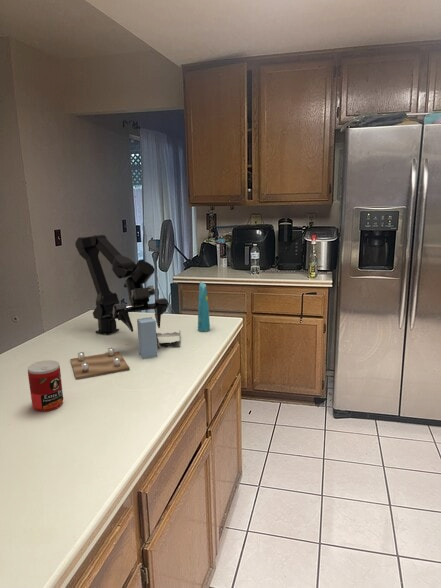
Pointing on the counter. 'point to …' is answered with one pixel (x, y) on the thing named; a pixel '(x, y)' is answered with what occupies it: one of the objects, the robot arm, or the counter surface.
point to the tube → (203, 309)
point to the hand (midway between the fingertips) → (146, 329)
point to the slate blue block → (147, 337)
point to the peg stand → (98, 364)
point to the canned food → (45, 385)
